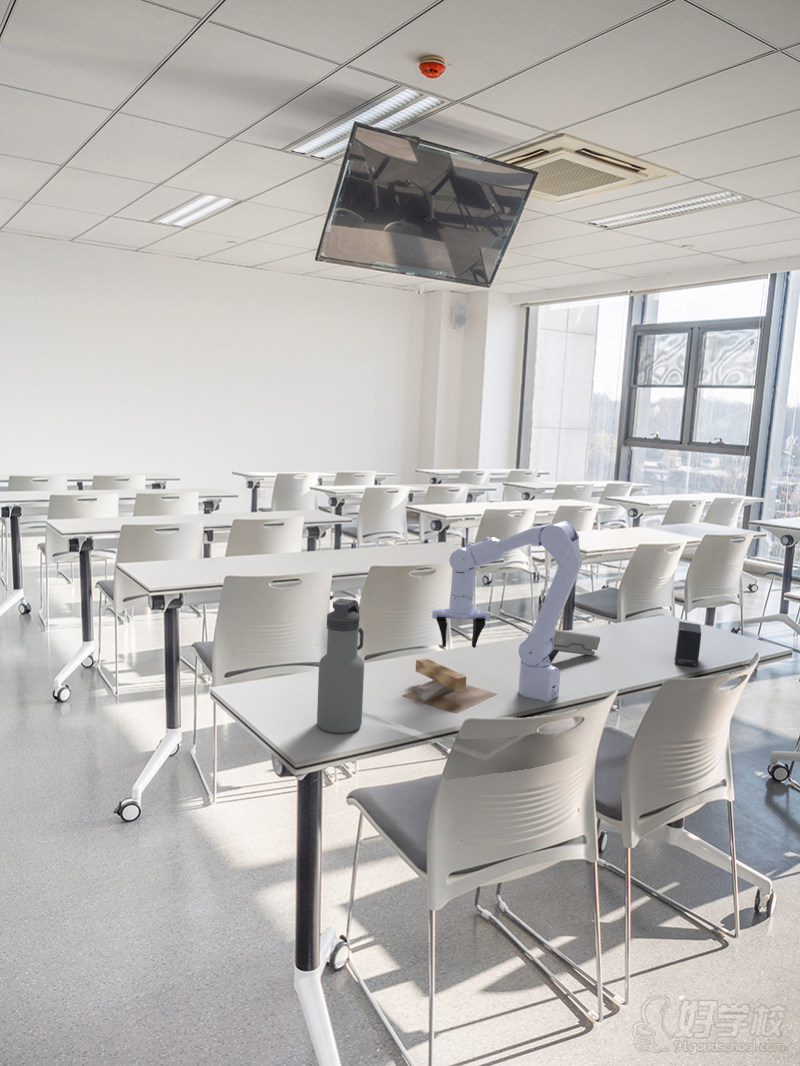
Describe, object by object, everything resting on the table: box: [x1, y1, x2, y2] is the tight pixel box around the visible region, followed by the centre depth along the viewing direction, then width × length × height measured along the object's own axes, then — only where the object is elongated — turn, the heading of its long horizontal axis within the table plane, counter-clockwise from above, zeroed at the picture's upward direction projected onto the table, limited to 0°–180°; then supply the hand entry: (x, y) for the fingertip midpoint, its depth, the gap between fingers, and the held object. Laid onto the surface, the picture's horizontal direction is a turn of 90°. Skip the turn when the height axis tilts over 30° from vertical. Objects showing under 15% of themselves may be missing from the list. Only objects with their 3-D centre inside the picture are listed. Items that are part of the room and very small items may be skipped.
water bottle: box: [316, 598, 365, 734], centre depth 175 cm, size 10×10×28 cm
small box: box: [674, 621, 702, 668], centre depth 237 cm, size 11×6×10 cm, turn 161°
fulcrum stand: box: [401, 671, 498, 714], centre depth 197 cm, size 16×18×4 cm
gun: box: [549, 628, 601, 665], centre depth 233 cm, size 2×25×10 cm, turn 125°
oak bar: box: [415, 657, 467, 691], centre depth 198 cm, size 16×3×3 cm, turn 36°
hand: (458, 646), depth 209 cm, fingers open, 7 cm apart
